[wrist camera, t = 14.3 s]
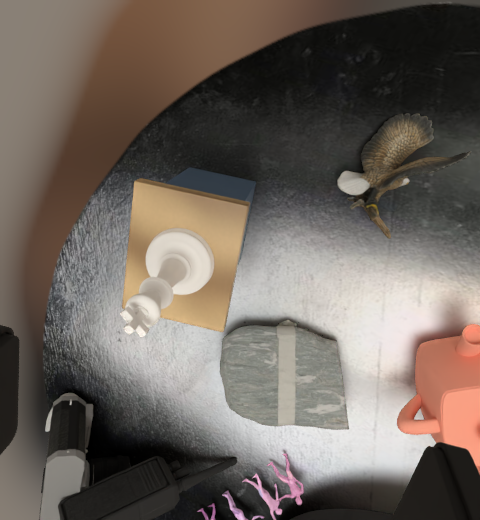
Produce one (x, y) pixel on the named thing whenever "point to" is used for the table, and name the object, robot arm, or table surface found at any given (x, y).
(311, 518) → the wall sign
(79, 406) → the camera
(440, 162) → the eagle figurine
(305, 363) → the decorative stone
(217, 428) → the table surface
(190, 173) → the box
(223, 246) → the board
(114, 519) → the walkie-talkie
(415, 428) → the teapot
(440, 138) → the table surface
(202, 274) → the chess piece
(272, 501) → the people figure
